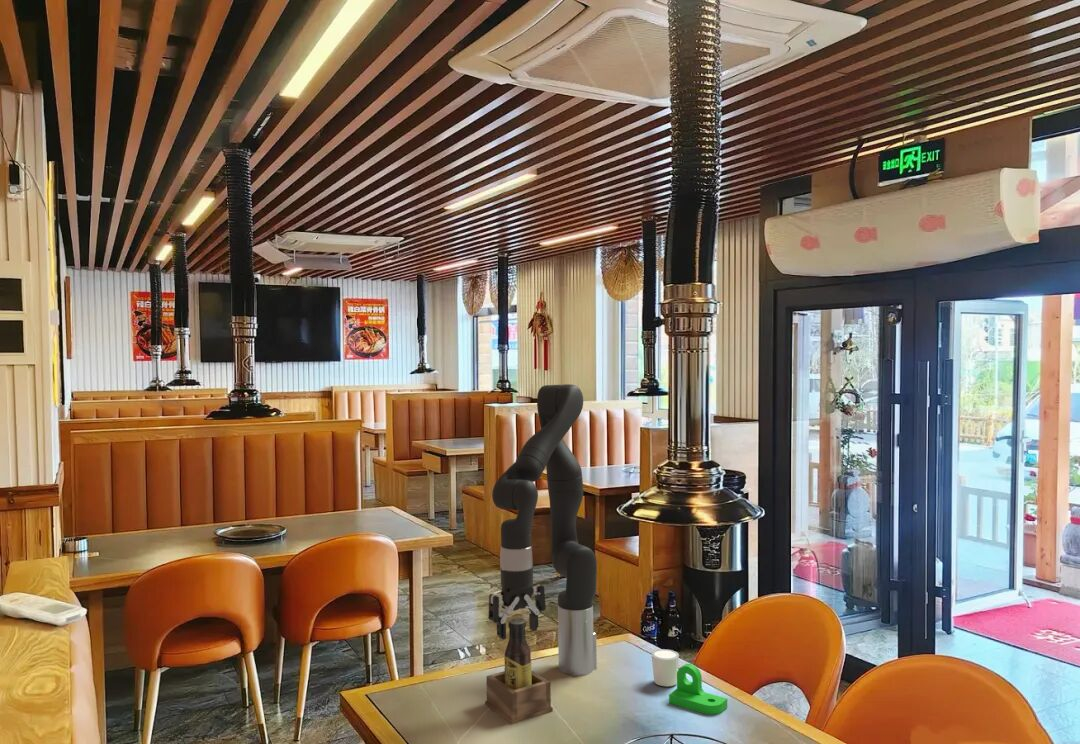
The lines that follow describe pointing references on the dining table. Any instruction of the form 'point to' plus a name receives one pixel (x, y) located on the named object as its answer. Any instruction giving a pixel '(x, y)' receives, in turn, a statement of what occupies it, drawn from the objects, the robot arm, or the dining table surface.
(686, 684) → the mechanical part
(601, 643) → the dining table surface
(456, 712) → the dining table surface
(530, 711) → the bottle caddy
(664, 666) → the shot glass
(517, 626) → the sauce bottle
